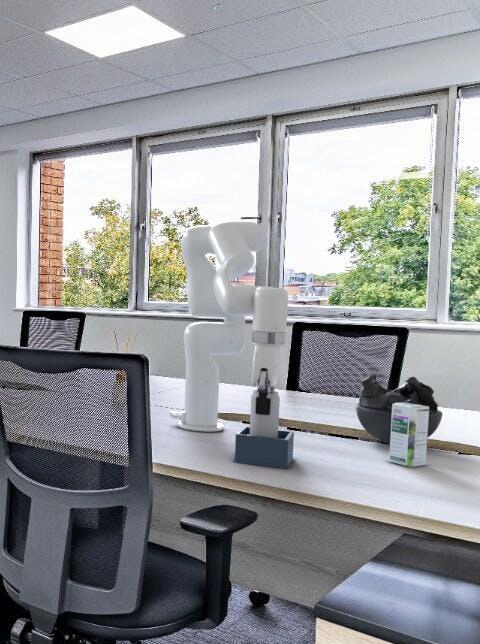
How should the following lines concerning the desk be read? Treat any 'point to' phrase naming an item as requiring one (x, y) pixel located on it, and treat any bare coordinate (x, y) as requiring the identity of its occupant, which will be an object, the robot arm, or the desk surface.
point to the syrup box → (409, 434)
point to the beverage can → (265, 417)
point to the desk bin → (264, 449)
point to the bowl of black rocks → (379, 400)
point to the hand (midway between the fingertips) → (264, 411)
